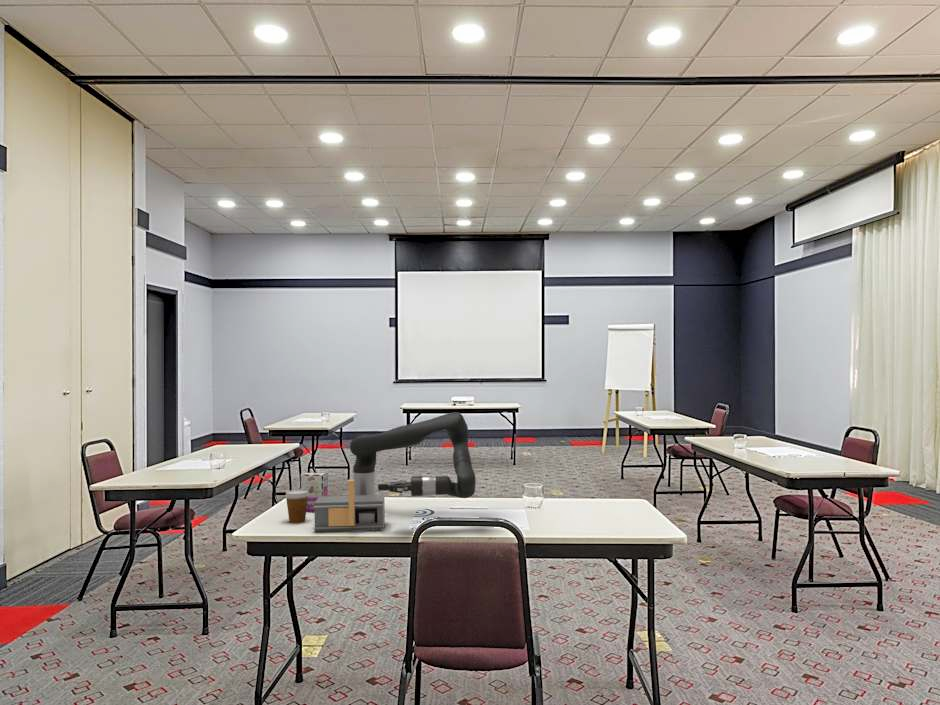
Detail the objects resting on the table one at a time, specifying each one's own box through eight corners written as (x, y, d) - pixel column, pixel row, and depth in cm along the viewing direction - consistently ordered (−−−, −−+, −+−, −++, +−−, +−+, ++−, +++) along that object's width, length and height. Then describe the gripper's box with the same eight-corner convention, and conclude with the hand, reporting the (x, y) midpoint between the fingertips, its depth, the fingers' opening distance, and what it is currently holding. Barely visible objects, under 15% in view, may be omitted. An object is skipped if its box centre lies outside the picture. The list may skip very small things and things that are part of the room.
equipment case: (319, 523, 263) (319, 496, 263) (384, 522, 265) (384, 494, 265) (313, 532, 250) (313, 504, 250) (382, 530, 251) (382, 502, 251)
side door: (328, 525, 251) (328, 479, 252) (355, 525, 252) (354, 478, 252) (327, 528, 248) (327, 481, 248) (354, 527, 248) (353, 480, 248)
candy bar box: (328, 510, 288) (328, 472, 288) (323, 512, 283) (322, 474, 283) (306, 509, 291) (306, 472, 291) (300, 511, 286) (299, 473, 286)
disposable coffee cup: (284, 519, 271) (284, 490, 272) (307, 517, 275) (307, 488, 275) (286, 524, 262) (286, 494, 263) (310, 522, 266) (310, 493, 266)
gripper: (423, 473, 258) (379, 474, 257) (423, 479, 245) (376, 480, 243) (423, 492, 258) (379, 493, 256) (423, 499, 244) (377, 500, 243)
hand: (378, 487), depth 250 cm, fingers closed
